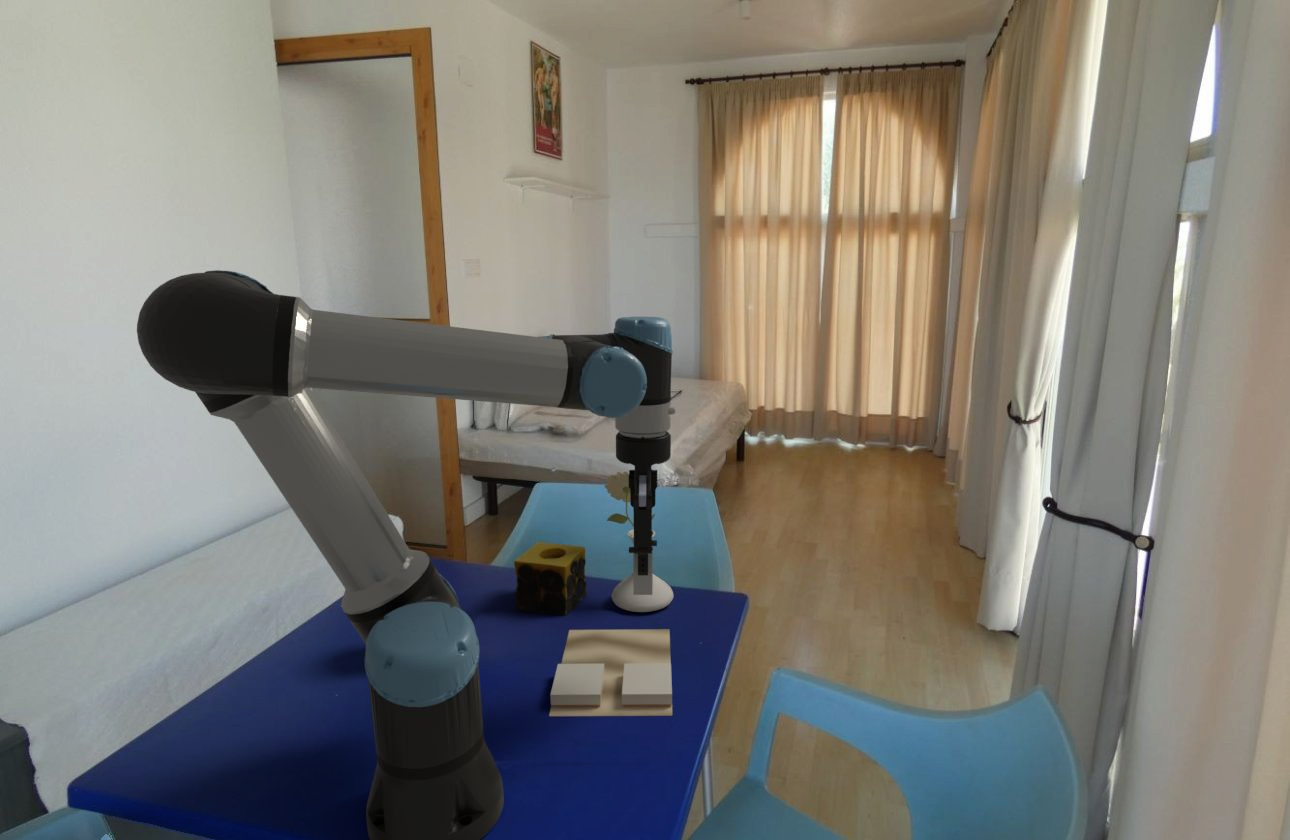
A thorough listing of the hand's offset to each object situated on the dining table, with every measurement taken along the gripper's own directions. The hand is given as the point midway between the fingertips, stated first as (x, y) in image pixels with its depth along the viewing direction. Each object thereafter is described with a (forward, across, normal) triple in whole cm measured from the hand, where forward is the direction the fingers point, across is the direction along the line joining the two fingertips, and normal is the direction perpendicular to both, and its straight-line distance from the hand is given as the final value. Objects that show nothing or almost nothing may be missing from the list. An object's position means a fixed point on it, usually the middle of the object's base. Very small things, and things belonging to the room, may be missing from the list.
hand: (643, 592), depth 105 cm
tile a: (+14, +3, +9) cm, 17 cm away
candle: (+16, +28, +17) cm, 36 cm away
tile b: (+14, +3, -1) cm, 14 cm away
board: (+15, +5, +4) cm, 17 cm away
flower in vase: (+15, +28, +1) cm, 32 cm away
